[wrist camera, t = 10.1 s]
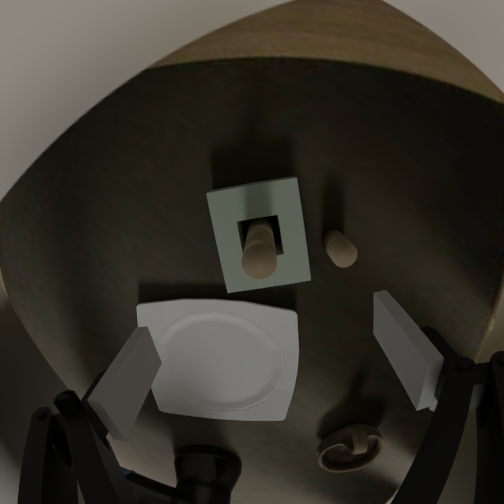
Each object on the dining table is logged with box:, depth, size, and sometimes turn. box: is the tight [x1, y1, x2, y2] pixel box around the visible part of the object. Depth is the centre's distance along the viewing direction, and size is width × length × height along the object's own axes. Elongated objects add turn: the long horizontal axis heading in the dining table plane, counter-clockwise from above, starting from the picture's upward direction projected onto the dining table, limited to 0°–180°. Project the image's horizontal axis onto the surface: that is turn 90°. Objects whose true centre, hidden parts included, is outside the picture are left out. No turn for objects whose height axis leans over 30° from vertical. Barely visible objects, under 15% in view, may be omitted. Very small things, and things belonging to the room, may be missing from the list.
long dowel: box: [242, 218, 277, 279], centre depth 31 cm, size 3×3×13 cm
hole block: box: [206, 176, 311, 293], centre depth 35 cm, size 10×12×4 cm
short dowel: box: [322, 230, 357, 267], centre depth 34 cm, size 3×3×6 cm
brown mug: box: [316, 423, 385, 472], centre depth 43 cm, size 14×18×10 cm
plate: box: [137, 298, 299, 421], centre depth 43 cm, size 24×24×3 cm
